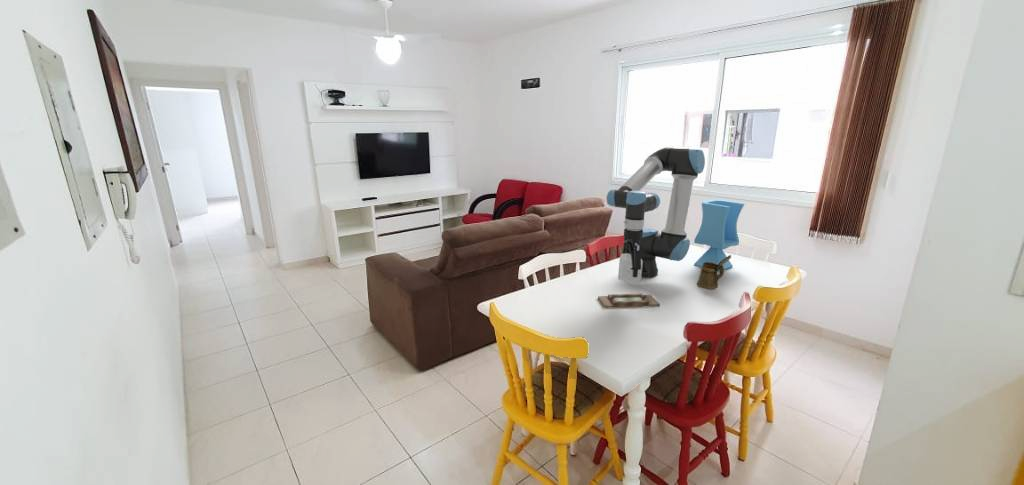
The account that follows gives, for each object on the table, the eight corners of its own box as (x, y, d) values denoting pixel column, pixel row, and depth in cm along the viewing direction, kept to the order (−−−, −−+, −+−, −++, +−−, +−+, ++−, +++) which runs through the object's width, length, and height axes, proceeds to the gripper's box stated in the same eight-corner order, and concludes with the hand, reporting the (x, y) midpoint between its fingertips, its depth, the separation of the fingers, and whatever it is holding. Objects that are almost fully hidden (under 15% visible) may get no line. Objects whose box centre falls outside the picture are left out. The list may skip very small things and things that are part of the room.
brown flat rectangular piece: (604, 308, 170) (604, 301, 170) (597, 298, 180) (598, 292, 179) (659, 306, 171) (660, 300, 171) (650, 296, 181) (651, 290, 180)
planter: (718, 273, 208) (728, 207, 199) (691, 265, 221) (699, 202, 211) (735, 267, 217) (744, 203, 207) (707, 260, 229) (715, 199, 219)
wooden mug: (720, 294, 183) (726, 256, 178) (692, 285, 193) (697, 249, 188) (730, 290, 188) (736, 253, 183) (703, 281, 198) (707, 246, 193)
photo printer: (642, 284, 170) (644, 256, 167) (635, 286, 168) (638, 258, 164) (622, 277, 178) (624, 250, 175) (616, 279, 176) (618, 252, 172)
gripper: (616, 222, 177) (613, 270, 183) (634, 235, 156) (629, 289, 162) (633, 222, 177) (629, 270, 183) (653, 235, 156) (647, 289, 162)
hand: (629, 279), depth 172 cm, fingers closed on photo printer, 10 cm apart
